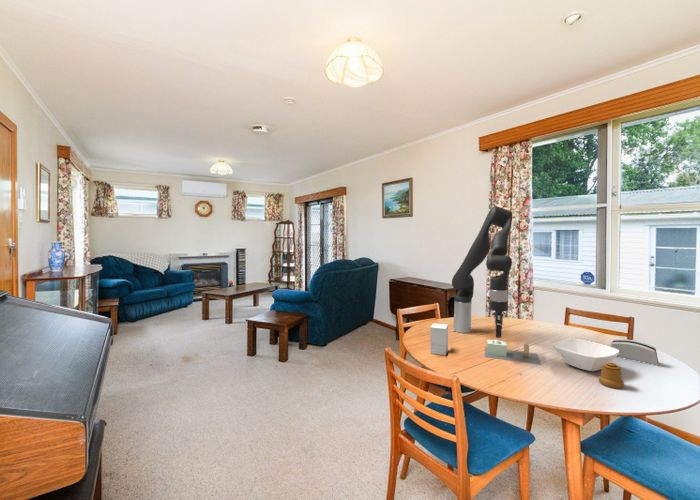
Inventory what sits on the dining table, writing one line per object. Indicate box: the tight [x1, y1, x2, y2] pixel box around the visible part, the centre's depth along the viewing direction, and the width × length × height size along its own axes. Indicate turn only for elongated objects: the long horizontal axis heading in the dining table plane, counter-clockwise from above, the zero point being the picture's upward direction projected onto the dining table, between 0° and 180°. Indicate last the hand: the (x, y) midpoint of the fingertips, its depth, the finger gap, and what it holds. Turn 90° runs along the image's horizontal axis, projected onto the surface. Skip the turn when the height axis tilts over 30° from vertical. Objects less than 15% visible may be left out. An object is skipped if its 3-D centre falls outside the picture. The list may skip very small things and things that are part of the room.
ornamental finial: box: [598, 362, 625, 390], centre depth 125 cm, size 8×8×8 cm
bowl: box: [552, 338, 619, 372], centre depth 141 cm, size 21×21×9 cm
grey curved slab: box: [610, 338, 659, 366], centre depth 149 cm, size 17×5×10 cm, turn 43°
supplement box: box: [429, 323, 449, 356], centre depth 159 cm, size 7×7×13 cm
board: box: [483, 339, 542, 366], centre depth 151 cm, size 22×14×8 cm, turn 66°
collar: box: [486, 339, 508, 357], centre depth 153 cm, size 8×6×5 cm
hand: (498, 334), depth 153 cm, fingers open, 8 cm apart
